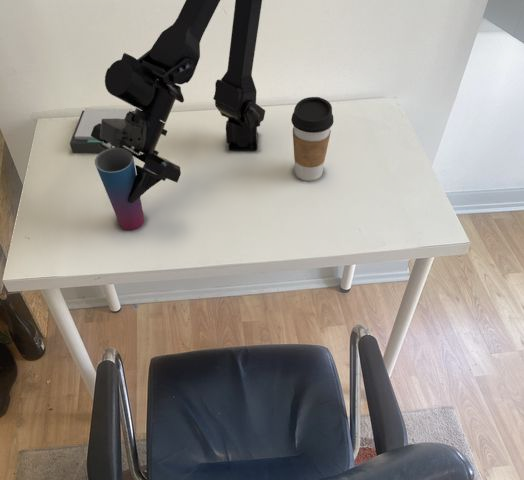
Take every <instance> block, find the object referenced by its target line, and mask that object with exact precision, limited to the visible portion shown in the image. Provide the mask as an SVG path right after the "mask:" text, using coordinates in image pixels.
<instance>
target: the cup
mask: <svg viewBox="0 0 524 480" xmlns="http://www.w3.org/2000/svg"><path fill="white" fill-rule="evenodd" d="M94 165H95V168H96V170H97V173H98V176H99V178H100V180H101V182H102V185H103V188H104V190H105V193H106V194H107V197H108V199H109V202H110V205H111V207H112V209H113V212H114V214H115V217H116V219H117V222H118V224H119V226H120V228H121V229H123V230H126V231H135V230H137V229H140V228H141V227H142V226H143V225H144V223H145V215H144V210H143V205H142V199H141V196H140V197H139V198H138V199H137V200H136V201H135V202H133V203H129V202H128V197H129V194H130V192H131V189H132V186H133V183H134V181H135V178H136V175H137V173H136V167H135V165H136V164H135V160H134V156H133V155H132V153H131V152H130V151H128V150H127V149H124V148H110V149H106V150H104V151H102V152H101V153H97V155H96V157H95V159H94Z"/></svg>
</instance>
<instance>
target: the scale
mask: <svg viewBox="0 0 524 480" xmlns="http://www.w3.org/2000/svg"><path fill="white" fill-rule="evenodd" d="M129 111H131V112H133V113H134V111H135V110H133V108H92V107H91V108H84V109H83V110H81V113H80V116H79V118H78V121H77V124H76V126H75V129H74V131H73V134H72V137H71V139H70V141H69V146H70V149H71V152H72V153H73V154H99V153H101V152H102V151H103V149H102V148H101V147H100V146H99V143H100V144H103V141H102V142H101V141H99V140H97V139H95V138H93V137H92V136H91V133H92V130H93V128H94V126H95V125H97V124H99V123H100V124H101V120H102V119H113V118H118V119H125V117H126V114H127V113H129ZM131 148H133V146H131Z"/></svg>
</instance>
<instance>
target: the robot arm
mask: <svg viewBox="0 0 524 480" xmlns="http://www.w3.org/2000/svg"><path fill="white" fill-rule="evenodd" d="M220 2H221V0H185V1H184V3H183V6H182V8H181V10H180V12H179V13H178V16H177V18H176V19H175V21H174V22H173V23H172V25H170V26H169V27H167V28H166V29H164V30H163V31H162V32H161V33H160V34H159V36H158V38H157V39H156V40H155V42H154V44H153V45H152V47H151V48H150V49H149V50H148V51H146V52H145V53H144V54H143V55H141V56H140V57H138V59H137V58H136V57H134V56H133V55H131V54H128V53H127V52H124V53H123V54H122V56H121V59H117V60H116V61H114V62H113V63H112V64H111V65H110V66H109V67H108V68H107V69H106V72H105V75H104V86H105V89H106V91H107V92H108V93H109V94H110V95H111V96H113V97H115V98H117V99H119V100H121V101H123V102H124V103H127V104H128V105H130V106H131V107H134V108H135V109H134V110H133V111H134V113H133V112H131V111H129V113H127V114H126V117H125V119H118V118H113V119H102V120H101V124H100V123H99V124H97V125H95V126H94V128H93V130H92V133H91V136H92V137H93V138H95V139H97V140H99V141H101V142H102V141H103V144H100V143H99V146H100V147H101V148H102V149H103V151H104V150H106V149H110V148H124V149H127V150H128V151H130V152H131V153H132V155H133V158H136V159H138V160H139V161H141V162H142V163H144V164H143V166H140V165H138V164H134V165H135V170H136V178H135V181H134V183H133V186H132V189H131V192H130V194H129V197H128V202H129V203H133V202H135V201H136V200H137V199H138V198H139V197H140V198H141V196H143V195H144V194H145V193H146V192H147V191H149V190H150V189H151V188H153V187H154V186H155V185H156V184H158V183H160V182H161V181H163V182H165V181H166V180H169V181H172V182H174V183H178V182H179V179H180V177H181V175H182V171H181V167H180V165H178V164H176V163H174V162H172V161H170V160H169V159H167V158H165V157H162V156H160V155H159V151H158V150H156V148H157V146H158V143H159V140H160V138H161V135H162V136H164V137H166V136H167V133H168V130H167V129H165V126H166V123H167V121H168V120H169V116H170V114H171V112H172V109H173V107H174V105H175V102H176V101H178V102H179V103H184V102H185V97H184V95H183V92H182V89H181V86H180V85H183V84H188V83H189V82H190V81H191V79H192V78H193V76H194V74H195V71H196V69H197V66H198V63H199V61H200V59H201V41H202V39H203V36H204V34H205V32H206V29H207V28H208V26H209V23H210V22H211V20H212V18H213V16H214V14H215V12H216V10H217V8H218V6H219V4H220ZM262 4H263V0H235V2H234V10H233V19H232V27H231V36H230V43H229V52H228V53H229V54H228V61H227V69H226V72H225V74H223V76H222V77H221V78H220V79H217V80H216V81H215V85H214V86H215V88H214V89H215V90H214V95H213V97H212V99H213V100H214V106H215V108H216V109H217V111H218V112H219V113H220V115H221V116H222V117H225V118H227V120H226V122H225V137H226V138H225V139H226V144H228V149H227V150H228V151H230V152H257V151H258V145H259V133H258V128H259V127H260V126H261V123H262V122H263V121H264V119H265V115H266V110H265V109H264V108H263V107H261V106H260V105H258V103H257V88H256V85H255V81H254V78H253V67H254V66H253V65H254V59H255V55H256V54H255V52H256V48H257V47H256V46H257V40H258V39H257V38H258V33H259V32H258V31H259V25H260V17H261V13H262V12H261V11H262ZM131 146H132V147H131Z"/></svg>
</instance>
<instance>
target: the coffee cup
mask: <svg viewBox="0 0 524 480" xmlns="http://www.w3.org/2000/svg"><path fill="white" fill-rule="evenodd" d="M290 119H291V120H290V121H291V124H292V125H293V127H292V143H293V144H292V145H293V159H294V175H295V176H296V177H297V178H298V179H300V180H302V181H306V182H311V181H316V180H318V179H320V178H321V176H322V174H323V170H324V165H325V160H326V156H327V151H328V146H329V143H330V137H331V131H332V130H331V128H332V126H333V125H334V123H335V122H334V115H333V106H332V104H331V102H330V101H328V100H327V99H325V98H323V97H319V96H309V97H305V98H303V99H301V100H300V101H298V102H297V103H296V104H295V106H294V109H293V113H292V115H291V118H290Z"/></svg>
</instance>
